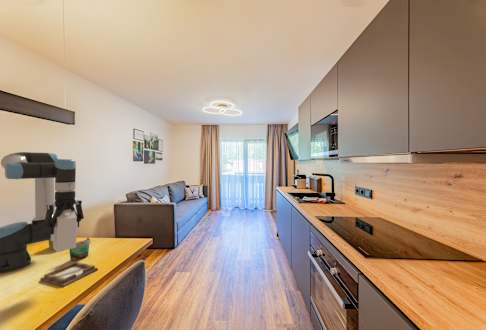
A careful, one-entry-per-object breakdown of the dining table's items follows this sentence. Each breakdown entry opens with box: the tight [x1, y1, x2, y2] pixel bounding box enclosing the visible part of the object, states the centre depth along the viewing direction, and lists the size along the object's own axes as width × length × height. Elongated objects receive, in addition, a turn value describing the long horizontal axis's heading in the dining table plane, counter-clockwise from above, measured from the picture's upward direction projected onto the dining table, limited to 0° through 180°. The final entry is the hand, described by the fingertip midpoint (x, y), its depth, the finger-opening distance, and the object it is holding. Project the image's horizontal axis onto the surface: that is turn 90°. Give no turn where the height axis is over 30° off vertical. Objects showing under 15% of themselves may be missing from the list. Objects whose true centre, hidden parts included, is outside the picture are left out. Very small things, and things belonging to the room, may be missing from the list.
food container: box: [68, 237, 92, 262], centre depth 125 cm, size 12×6×10 cm, turn 168°
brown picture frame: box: [40, 261, 99, 288], centre depth 105 cm, size 17×16×2 cm
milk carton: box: [53, 209, 77, 253], centre depth 99 cm, size 7×7×19 cm
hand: (64, 237), depth 99 cm, fingers closed on milk carton, 8 cm apart
